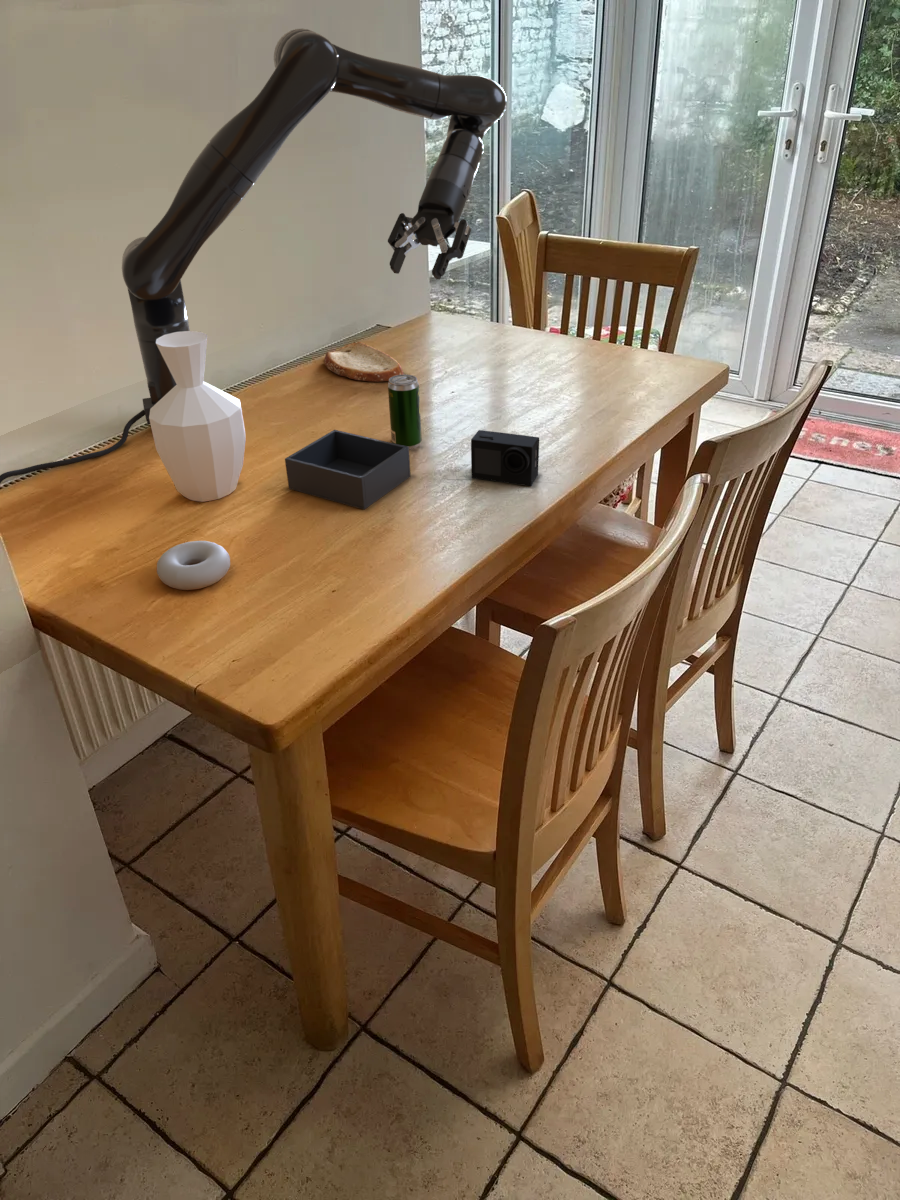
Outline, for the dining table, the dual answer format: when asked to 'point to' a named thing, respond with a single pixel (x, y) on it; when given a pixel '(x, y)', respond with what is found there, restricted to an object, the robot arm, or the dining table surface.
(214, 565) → the donut
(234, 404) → the vase
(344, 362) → the bread slice
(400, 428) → the beer can
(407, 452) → the open rectangular tray
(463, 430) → the dining table surface
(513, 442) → the digital camera
